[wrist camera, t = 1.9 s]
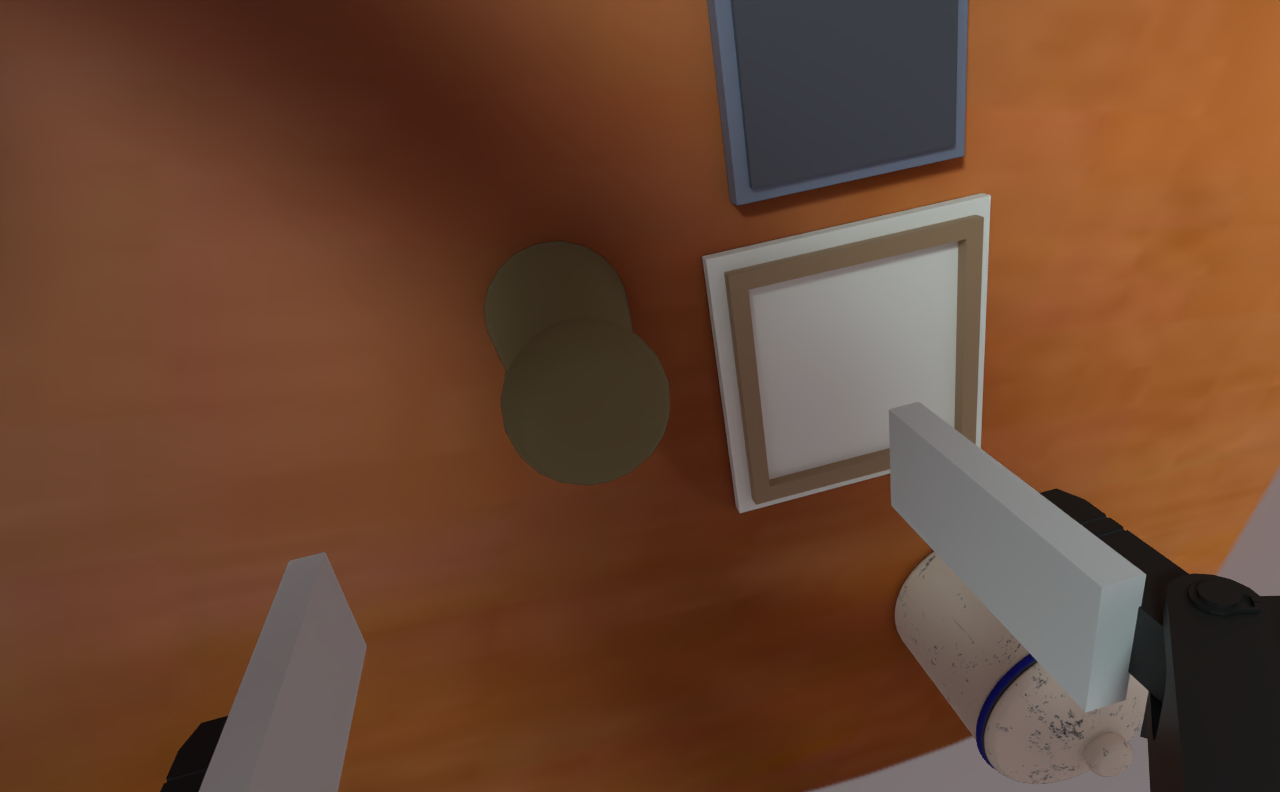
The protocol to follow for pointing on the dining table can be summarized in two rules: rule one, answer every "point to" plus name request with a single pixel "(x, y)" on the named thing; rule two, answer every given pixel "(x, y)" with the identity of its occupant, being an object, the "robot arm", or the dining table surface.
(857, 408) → the board
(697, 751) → the dining table surface
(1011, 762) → the teacup with lid
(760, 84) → the ink pad
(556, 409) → the olive knob handle
